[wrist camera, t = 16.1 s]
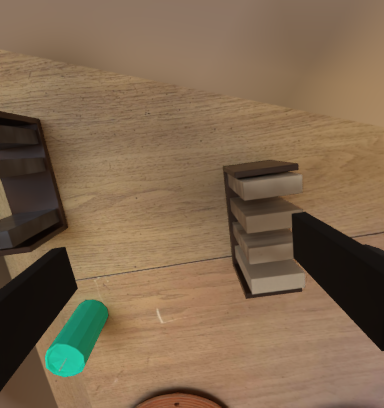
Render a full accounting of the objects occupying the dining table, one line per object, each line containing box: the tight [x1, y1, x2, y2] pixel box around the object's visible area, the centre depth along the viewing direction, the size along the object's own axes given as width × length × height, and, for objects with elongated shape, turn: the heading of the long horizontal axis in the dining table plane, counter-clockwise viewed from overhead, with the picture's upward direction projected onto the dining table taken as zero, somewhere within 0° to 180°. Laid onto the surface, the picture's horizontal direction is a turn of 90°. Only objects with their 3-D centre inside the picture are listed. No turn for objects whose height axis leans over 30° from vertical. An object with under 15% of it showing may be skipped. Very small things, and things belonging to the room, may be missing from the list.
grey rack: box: [0, 111, 68, 256], centre depth 33 cm, size 18×8×12 cm, turn 8°
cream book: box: [235, 245, 305, 294], centre depth 36 cm, size 2×7×11 cm, turn 97°
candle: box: [45, 300, 108, 377], centre depth 39 cm, size 6×6×12 cm
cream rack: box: [223, 160, 303, 299], centre depth 35 cm, size 18×8×12 cm, turn 8°
